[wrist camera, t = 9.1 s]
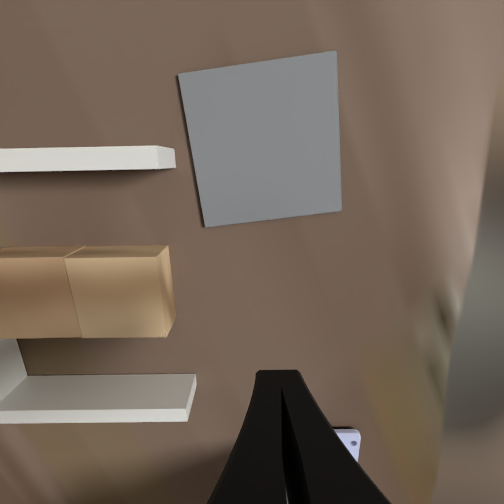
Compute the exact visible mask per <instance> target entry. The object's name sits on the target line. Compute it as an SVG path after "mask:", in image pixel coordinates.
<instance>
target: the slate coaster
mask: <svg viewBox="0 0 504 504" xmlns="http://www.w3.org/2000/svg"><path fill="white" fill-rule="evenodd" d="M178 77H179V82H180V88H181V94H182V99H183V105H184V111H185V116H186V122H187V128H188V133H189V139H190V144H191V150H192V156H193V161H194V167H195V173H196V178H197V184H198V190H199V195H200V201H201V207H202V212H203V218H204V223H205V227H213V226H221V225H230V224H238V223H246V222H254V221H262V220H271V219H279V218H287V217H295V216H303V215H312V214H320V213H328V212H336V211H342V202H341V170H340V139H339V108H338V76H337V51H330V52H323V53H316V54H309V55H303V56H296V57H289V58H282V59H275V60H269V61H262V62H255V63H248V64H241V65H235V66H228V67H221V68H214V69H207V70H201V71H194V72H187V73H180V74H178Z"/></svg>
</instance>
